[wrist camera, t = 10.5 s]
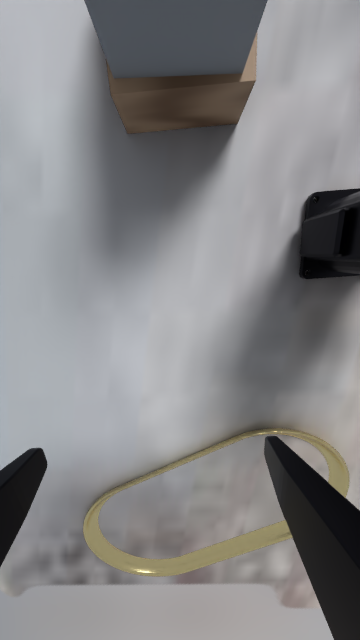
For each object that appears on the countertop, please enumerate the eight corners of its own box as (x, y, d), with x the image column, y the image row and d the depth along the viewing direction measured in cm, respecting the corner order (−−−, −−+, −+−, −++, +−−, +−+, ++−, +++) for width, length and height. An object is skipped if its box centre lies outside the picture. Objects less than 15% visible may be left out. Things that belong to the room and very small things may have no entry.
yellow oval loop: (59, 503, 27) (52, 518, 26) (309, 394, 22) (319, 404, 20) (137, 574, 32) (134, 589, 31) (357, 498, 27) (368, 513, 25)
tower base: (238, -36, 12) (262, -164, 9) (236, 125, 15) (255, 80, 11) (109, -21, 13) (78, -140, 9) (128, 135, 15) (110, 94, 11)
